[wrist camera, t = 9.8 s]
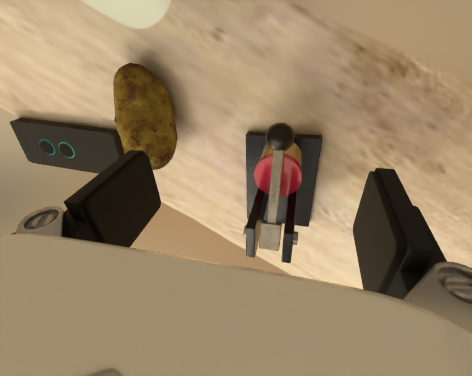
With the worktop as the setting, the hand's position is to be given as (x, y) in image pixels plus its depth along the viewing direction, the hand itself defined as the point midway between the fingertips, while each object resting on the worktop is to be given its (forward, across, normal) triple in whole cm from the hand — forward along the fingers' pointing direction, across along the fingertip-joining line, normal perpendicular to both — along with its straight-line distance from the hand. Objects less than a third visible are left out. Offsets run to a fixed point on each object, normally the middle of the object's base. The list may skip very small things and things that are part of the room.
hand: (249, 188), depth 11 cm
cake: (+23, 0, +11) cm, 25 cm away
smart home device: (+24, +36, +12) cm, 45 cm away
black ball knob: (+16, 0, +11) cm, 20 cm away
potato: (+24, +18, +5) cm, 31 cm away
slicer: (+24, 0, +15) cm, 28 cm away
